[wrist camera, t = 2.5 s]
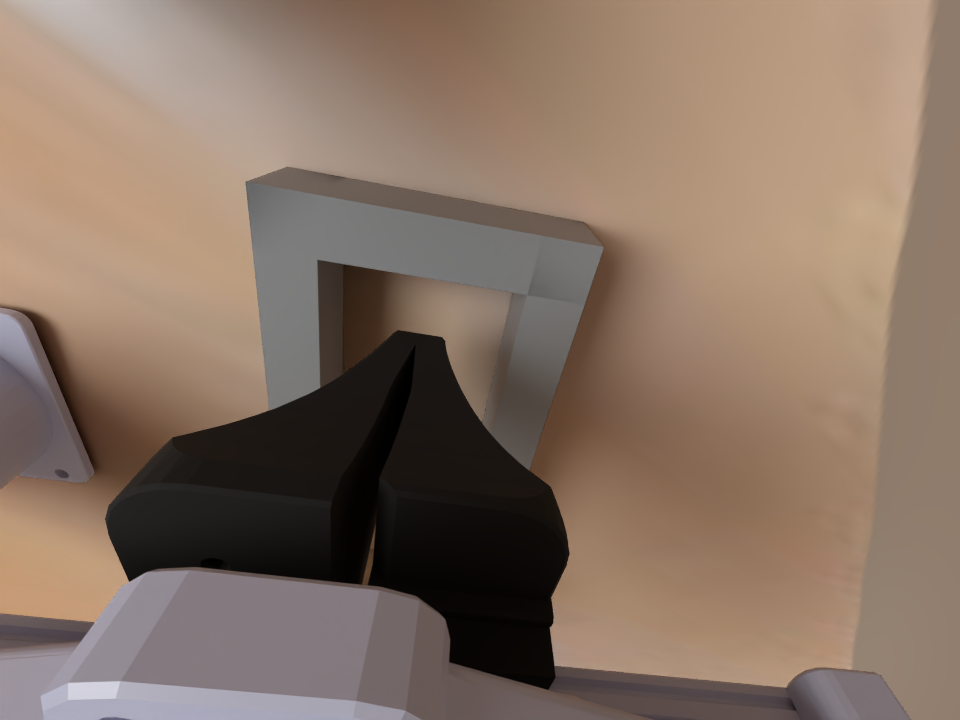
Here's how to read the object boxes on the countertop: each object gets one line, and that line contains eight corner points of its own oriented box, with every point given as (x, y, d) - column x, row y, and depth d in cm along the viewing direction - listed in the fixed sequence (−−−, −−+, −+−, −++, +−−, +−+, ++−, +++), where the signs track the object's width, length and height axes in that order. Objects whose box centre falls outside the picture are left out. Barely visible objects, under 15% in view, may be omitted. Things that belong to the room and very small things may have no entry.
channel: (312, 632, 25) (297, 681, 23) (287, 166, 12) (245, 181, 10) (456, 645, 26) (454, 693, 24) (583, 222, 13) (603, 247, 11)
